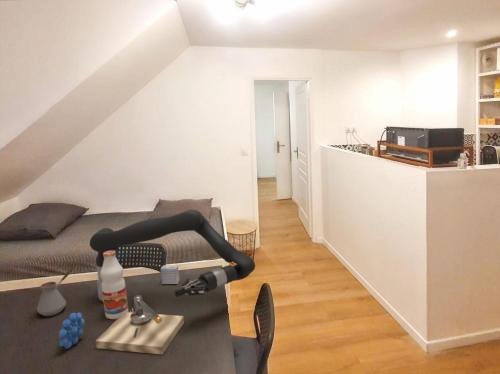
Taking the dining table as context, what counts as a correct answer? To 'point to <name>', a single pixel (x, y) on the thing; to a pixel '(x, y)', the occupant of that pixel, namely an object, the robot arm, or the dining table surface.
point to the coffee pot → (51, 298)
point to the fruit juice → (113, 286)
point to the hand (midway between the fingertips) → (175, 294)
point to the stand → (140, 334)
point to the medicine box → (170, 274)
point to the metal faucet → (143, 312)
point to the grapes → (71, 330)
